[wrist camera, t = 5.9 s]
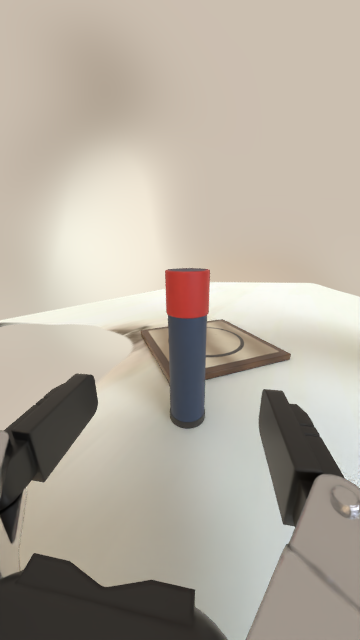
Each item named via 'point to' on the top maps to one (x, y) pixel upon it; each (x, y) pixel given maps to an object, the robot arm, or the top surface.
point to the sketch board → (220, 349)
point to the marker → (187, 343)
